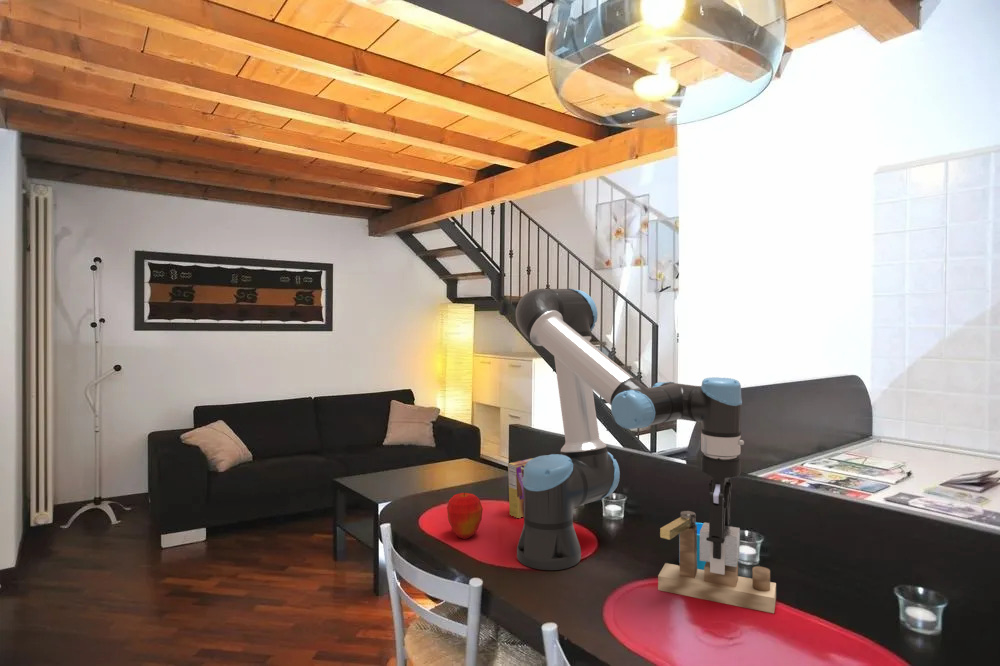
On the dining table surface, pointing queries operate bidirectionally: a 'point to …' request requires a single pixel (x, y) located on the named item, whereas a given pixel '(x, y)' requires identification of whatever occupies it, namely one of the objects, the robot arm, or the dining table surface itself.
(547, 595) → the dining table surface
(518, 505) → the candy box
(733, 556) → the gray rectangular block
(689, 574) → the wooden base with post
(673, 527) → the lever
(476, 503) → the apple
